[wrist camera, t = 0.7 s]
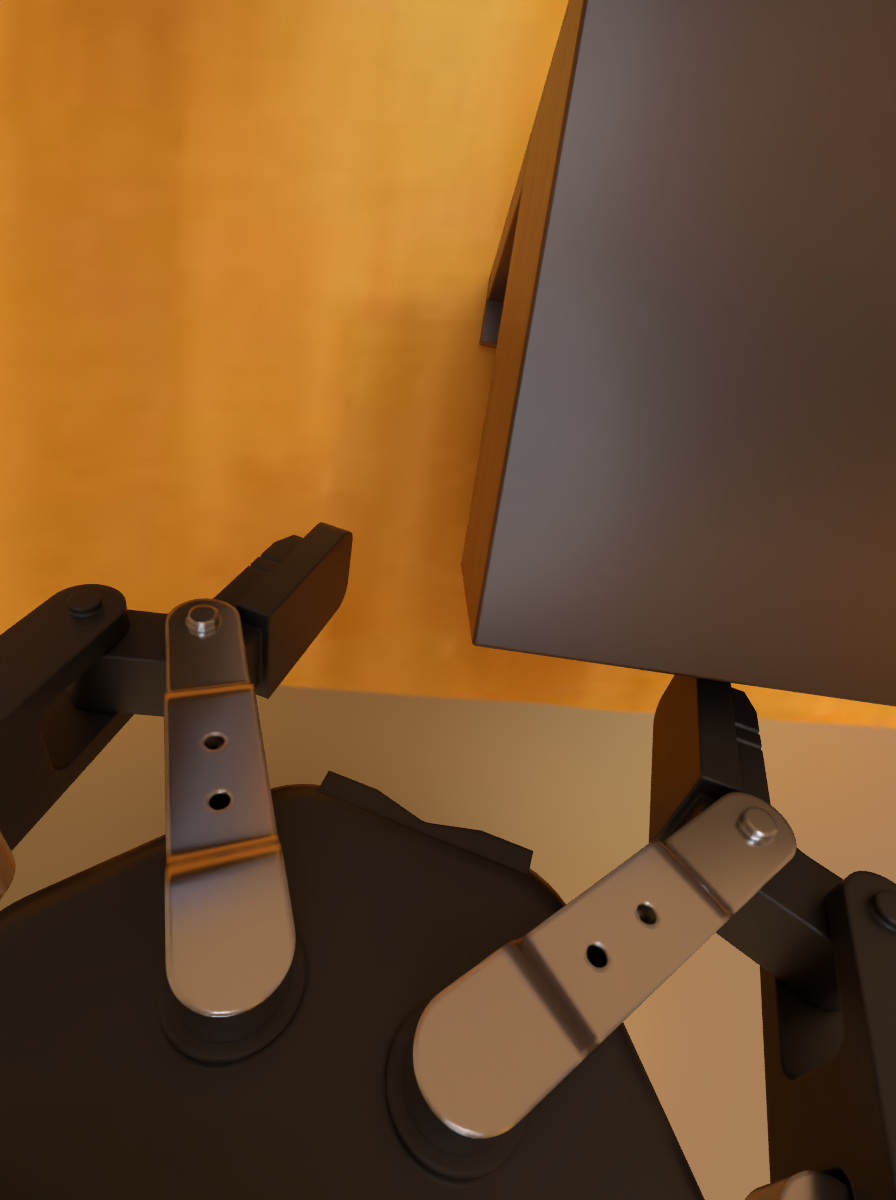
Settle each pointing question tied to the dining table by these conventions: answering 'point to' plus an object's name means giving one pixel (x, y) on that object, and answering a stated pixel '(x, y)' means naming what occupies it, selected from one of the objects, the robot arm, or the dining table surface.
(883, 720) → the dining table surface
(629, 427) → the drawer unit
